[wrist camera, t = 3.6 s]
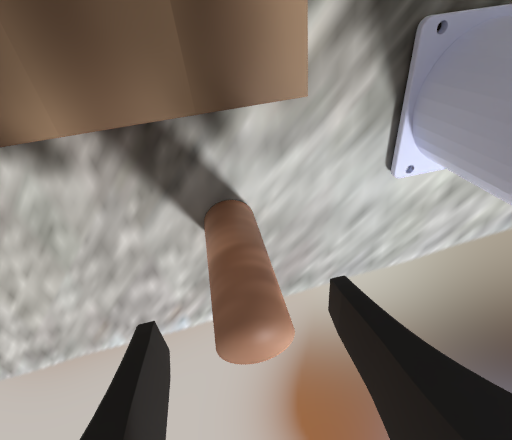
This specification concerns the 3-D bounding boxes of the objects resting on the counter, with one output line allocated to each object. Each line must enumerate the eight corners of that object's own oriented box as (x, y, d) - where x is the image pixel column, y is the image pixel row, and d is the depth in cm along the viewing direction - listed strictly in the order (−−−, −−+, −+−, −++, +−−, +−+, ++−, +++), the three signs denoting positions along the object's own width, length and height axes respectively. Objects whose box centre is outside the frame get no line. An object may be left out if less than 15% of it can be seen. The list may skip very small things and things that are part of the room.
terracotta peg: (251, 195, 16) (293, 306, 10) (256, 235, 18) (295, 352, 12) (199, 205, 16) (208, 327, 10) (209, 245, 18) (223, 371, 11)
